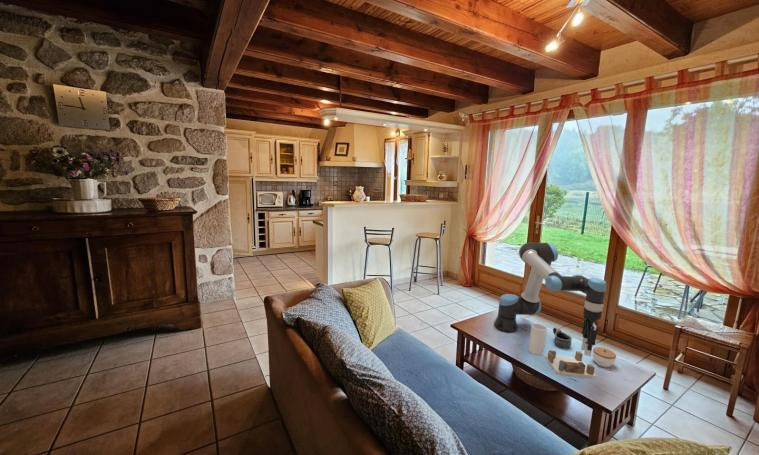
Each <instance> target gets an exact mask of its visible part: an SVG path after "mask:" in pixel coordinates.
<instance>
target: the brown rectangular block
mask: <svg viewBox="0 0 759 455" xmlns="http://www.w3.org/2000/svg"><path fill="white" fill-rule="evenodd" d="M585 367H586V366H585V365H584V363H583V362H579V363H573V362H565V366H564V370H565V371H566V372H575V373H583V374H584V372H585Z"/></svg>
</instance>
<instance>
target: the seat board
mask: <svg viewBox="0 0 759 455" xmlns="http://www.w3.org/2000/svg"><path fill="white" fill-rule="evenodd" d="M583 355H584V353H583V352H582V351H578V350H577V351H575V354H574V357H573V356H565V355H564V356H563V355H557V351H556V350H552V349H549V350H548V352H547V354H544V358H545V359H546V361H547V362H548V364H549V366H550V367H551V369H552V370H553V371H554V373H555V374H556V375H562V376H568V377H578V378H587V379H594V380H595V379H597V378H598V377H597V374H595V366H594V365H593V364H591V363H590V364H589V363H586V362H585V361H584V360H583ZM565 362H573V363H579V362H583V363H584V365H585V366H586V367H585V372H584V374H583V373H575V372H566V371H565V370H564V366H565Z"/></svg>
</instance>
